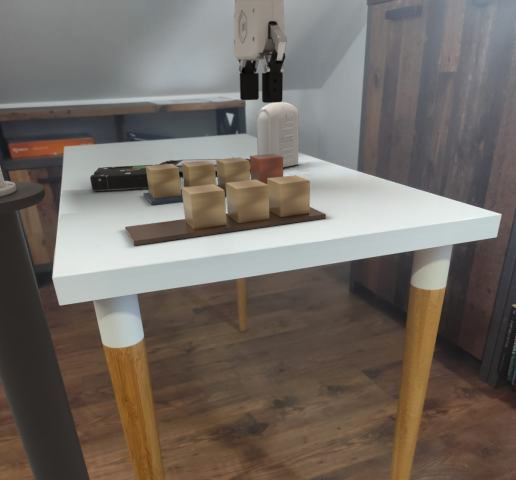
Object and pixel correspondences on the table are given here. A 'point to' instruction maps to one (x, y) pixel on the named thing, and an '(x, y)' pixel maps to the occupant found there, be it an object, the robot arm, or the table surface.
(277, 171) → the reddish wooden cube
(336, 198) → the table surface
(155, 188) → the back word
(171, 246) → the table surface
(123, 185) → the disk drive
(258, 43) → the robot arm
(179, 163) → the gaming console
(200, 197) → the front word
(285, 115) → the white rounded slab
